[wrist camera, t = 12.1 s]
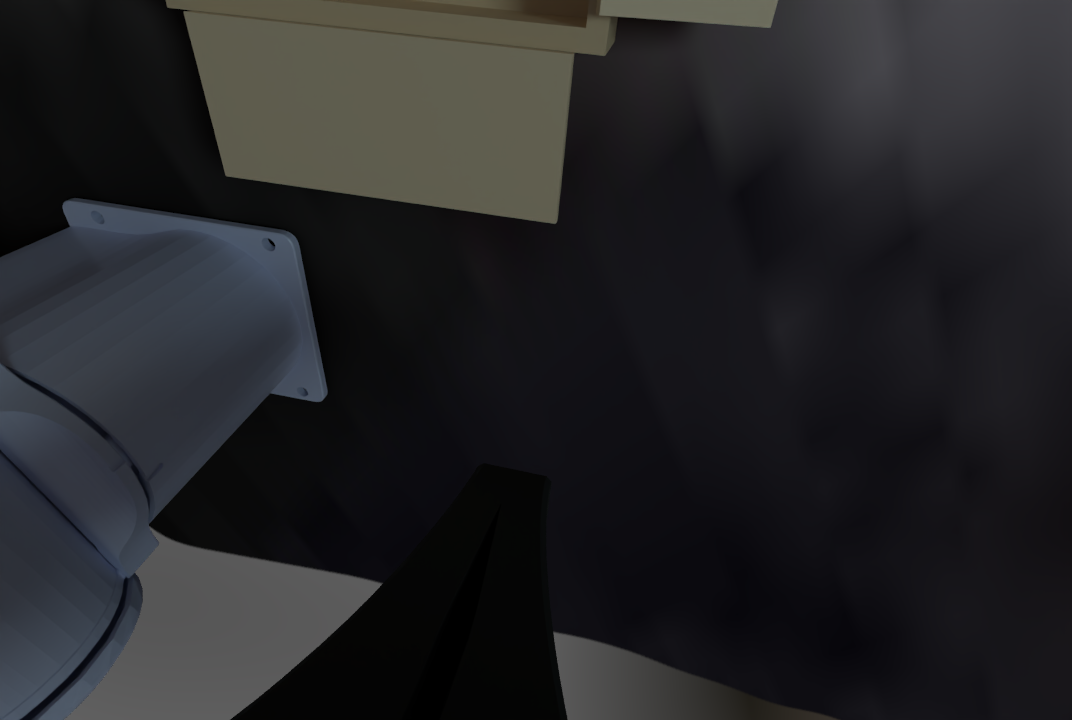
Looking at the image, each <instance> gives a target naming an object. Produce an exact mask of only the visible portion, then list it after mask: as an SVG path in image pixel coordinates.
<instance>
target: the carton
mask: <svg viewBox="0 0 1072 720" xmlns="http://www.w3.org/2000/svg"><path fill="white" fill-rule="evenodd" d="M166 4H167V8H175V9H184V10H193V11H183V12H184V16H185V20H186V24H187V28H188V32H189V36H190V39H191V43H192V47H193V51H194V55H195V59H196V63H197V66H198V70H199V74H200V78H201V82H202V86H203V90H204V94H205V97H206V101H207V105H208V109H209V113H210V117H211V121H212V124H213V128H214V132H215V136H216V140H217V144H218V148H219V151H220V155H221V159H222V163H223V167H224V171H225V175H226V176H229V177H236V178H243V179H250V180H257V181H264V182H271V183H277V184H284V185H291V186H298V187H305V188H312V189H319V190H326V191H333V192H340V193H346V194H353V195H360V196H367V197H374V198H381V199H388V200H395V201H402V202H409V203H416V204H422V205H429V206H436V207H443V208H450V209H457V210H464V211H471V212H478V213H485V214H492V215H498V216H505V217H512V218H519V219H526V220H533V221H540V222H547V223H554V224H556V222H557V220H558V210H559V200H560V190H561V181H562V171H563V161H564V151H565V141H566V131H567V121H568V111H569V101H570V92H571V82H572V72H573V62H574V53H572V52H575V53H584V54H593V55H602V56H605V55H606V54H607V52H608V51H609V49H610V48H611V46H612V45H613V43H614V42H615V35H616V28H617V21H618V17H616V16H602V15H597V14H596V8H597V0H166ZM199 11H202V12H199ZM208 12H211V13H208ZM218 13H220V14H218ZM227 14H229V15H227ZM236 15H238V16H236ZM245 16H247V17H245ZM254 17H256V18H254ZM263 18H266V19H263ZM272 19H275V20H272ZM281 20H284V21H281ZM290 21H293V22H290ZM299 22H302V23H299ZM308 23H311V24H308ZM317 24H320V25H317ZM327 25H329V26H327ZM336 26H338V27H336ZM345 27H347V28H345ZM354 28H356V29H354ZM363 29H366V30H363ZM372 30H375V31H372ZM381 31H384V32H381ZM390 32H393V33H390ZM399 33H402V34H399ZM408 34H411V35H408ZM417 35H420V36H417ZM427 36H429V37H427ZM436 37H438V38H436ZM445 38H447V39H445ZM454 39H456V40H454ZM463 40H466V41H463ZM472 41H475V42H472ZM481 42H484V43H481ZM490 43H493V44H490ZM499 44H502V45H499ZM508 45H511V46H508ZM517 46H520V47H517ZM526 47H529V48H526ZM536 48H538V49H536ZM545 49H547V50H545ZM554 50H556V51H554ZM563 51H566V52H563Z"/></svg>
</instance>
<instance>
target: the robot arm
mask: <svg viewBox="0 0 1072 720" xmlns="http://www.w3.org/2000/svg"><path fill="white" fill-rule="evenodd" d="M63 211H64V214H65V216H66V218H67V220H68V223H69V225H70V227H69V228H66V229H64V230H62V231H59V232H57V233H55V234H53V235H50V236H48V237H46V238H43V239H41V240H39V241H36V242H34V243H32V244H30V245H27V246H25V247H23V248H20V249H18V250H16V251H14V252H11V253H9V254H7V255H4V256H2V257H0V720H64V719H65V718H66V717H67V716H68V715H70V714H71V712H73V711H74V710H75V709H76V708H77V707H78V706H79V705H80V704H81V703H82V702H83V701H84V700H85V699H86V698H87V697H88V696H89V694H90V693H91V692H92V691H93V690H94V689H95V688H96V686H97V685H98V684H99V683H100V682H101V680H102V679H103V678H104V676H105V675H106V674H107V672H108V671H109V670H110V668H111V667H112V665H113V664H114V662H115V661H116V659H117V658H118V656H119V655H120V653H121V652H122V650H123V649H124V647H125V645H126V643H127V642H128V640H129V638H130V636H131V634H132V632H133V630H134V628H135V625H136V623H137V620H138V618H139V615H140V610H141V606H142V601H143V598H142V597H143V595H142V592H143V591H142V586H141V583H140V580H139V577H138V576H137V575H136V574H135V571H136V570H137V569H138V568H139V567H140V566H141V564H142V563H143V562H144V561H145V560H146V559H147V558H148V556H149V555H150V554H151V553H152V552H153V551H154V550H155V548H156V547H157V546H158V545H159V542H158V540H157V539H156V538H155V537H154V535H153V534H152V532H151V530H150V528H149V523H150V522H151V521H152V520H153V519H154V518H155V517H156V515H157V514H158V513H159V512H160V511H161V510H162V509H163V508H164V507H165V506H166V505H167V504H168V503H169V501H170V500H171V499H172V498H173V497H174V496H175V495H176V494H177V493H178V492H179V491H180V490H181V489H182V487H183V486H184V485H185V484H186V483H187V482H188V481H189V480H190V479H191V478H192V477H193V476H194V475H195V473H196V472H197V471H198V470H199V469H200V468H201V467H202V466H203V465H204V464H205V463H206V462H207V460H208V459H209V458H210V457H211V456H212V455H213V454H214V453H215V452H216V451H217V450H218V449H219V448H220V446H221V445H222V444H223V443H224V442H225V441H226V440H227V439H228V438H229V437H230V436H231V435H232V434H233V432H234V431H235V430H236V429H237V428H238V427H239V426H240V425H241V424H242V423H243V422H244V421H245V420H246V418H247V417H248V416H249V415H250V414H251V413H252V412H253V411H254V410H255V409H256V408H257V407H258V406H259V404H260V403H261V402H262V401H263V400H264V399H265V398H266V397H267V396H268V395H269V394H270V393H272V394H277V395H283V396H288V397H293V398H298V399H304V400H309V401H314V402H320V401H322V400H323V399H324V398H325V397H326V395H327V386H326V381H325V376H324V370H323V365H322V360H321V355H320V350H319V345H318V340H317V334H316V329H315V324H314V319H313V314H312V309H311V304H310V299H309V293H308V288H307V283H306V278H305V273H304V268H303V263H302V257H301V252H300V247H299V243H298V241H297V239H296V238H295V236H294V235H293V234H291V233H290V232H288V231H285V230H280V229H274V228H267V227H261V226H254V225H248V224H241V223H235V222H228V221H222V220H216V219H209V218H203V217H196V216H190V215H183V214H177V213H170V212H164V211H157V210H151V209H144V208H138V207H131V206H125V205H118V204H112V203H105V202H99V201H93V200H86V199H80V198H72V199H70V200H67V201H65V202H64V203H63ZM102 216H103V217H102ZM268 238H269V239H271V240H272V241H273V242H274V244H275V246H273V245H271V244H270V243H269V240H268ZM304 388H305V389H306V390H305V389H304ZM550 490H551V481H550V480H549V479H548V478H547V476H542V475H537V474H532V473H528V472H523V471H518V470H513V469H508V468H504V467H499V466H494V465H489V464H485V463H484V464H482V465H480V466H478V467H477V469H476V470H475V472H474V473H473V475H472V476H471V478H470V479H469V481H468V482H467V484H466V485H465V487H464V488H463V489H462V491H461V492H460V494H459V495H458V496H457V498H456V499H455V500H454V502H453V503H452V504H451V506H450V507H449V508H448V509H447V511H446V512H445V513H444V515H443V516H442V517H441V518H440V520H439V521H438V522H437V523H436V524H435V526H434V527H433V528H432V529H431V530H430V532H429V533H428V534H427V535H426V536H425V538H424V539H423V540H422V541H421V542H420V543H419V545H418V546H417V547H416V548H415V549H414V551H413V552H412V553H411V554H410V555H409V556H408V557H407V559H406V560H405V561H404V562H403V563H402V564H401V565H400V566H399V567H398V568H397V569H396V570H395V571H394V572H393V574H392V575H391V576H390V577H389V578H388V579H387V580H386V581H385V582H384V583H383V584H382V585H381V586H380V588H379V589H378V590H377V591H376V592H375V593H374V594H373V595H372V596H371V597H370V598H369V599H368V600H367V601H366V602H365V603H364V604H363V605H362V606H361V607H360V608H359V609H358V610H357V611H356V612H355V613H354V614H353V615H352V616H351V617H350V618H349V619H348V620H347V621H346V622H344V623H343V624H342V625H341V626H340V627H339V628H338V629H337V630H336V631H335V632H334V633H333V634H332V635H331V636H330V637H328V638H327V639H326V640H325V641H324V642H323V643H322V644H321V645H320V646H319V647H317V648H316V649H315V650H314V651H313V652H312V653H311V654H309V655H308V656H307V657H306V658H305V659H304V660H303V661H301V662H300V663H299V664H298V665H297V666H296V667H294V668H293V669H292V670H291V671H290V672H289V673H288V674H286V675H285V676H284V677H283V678H282V679H281V680H279V681H278V682H277V683H276V684H275V685H273V686H272V687H271V688H270V689H269V690H267V691H266V692H265V693H264V694H262V695H261V696H260V697H259V698H258V699H256V700H255V701H254V702H253V703H251V704H250V705H249V706H247V707H246V708H245V709H243V710H242V711H241V712H240V713H238V714H237V715H236V716H234V717H233V718H232V719H231V720H567V715H566V709H565V704H564V698H563V693H562V687H561V682H560V676H559V670H558V663H557V657H556V650H555V643H554V635H553V627H552V619H551V610H550V600H549V589H548V574H547V559H546V520H547V512H548V505H549V497H550Z"/></svg>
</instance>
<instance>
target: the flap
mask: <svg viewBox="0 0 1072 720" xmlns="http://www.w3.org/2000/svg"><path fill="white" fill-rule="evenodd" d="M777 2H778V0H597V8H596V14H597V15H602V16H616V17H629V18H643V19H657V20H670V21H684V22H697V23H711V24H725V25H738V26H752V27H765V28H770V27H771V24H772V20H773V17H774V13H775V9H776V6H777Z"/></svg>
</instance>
